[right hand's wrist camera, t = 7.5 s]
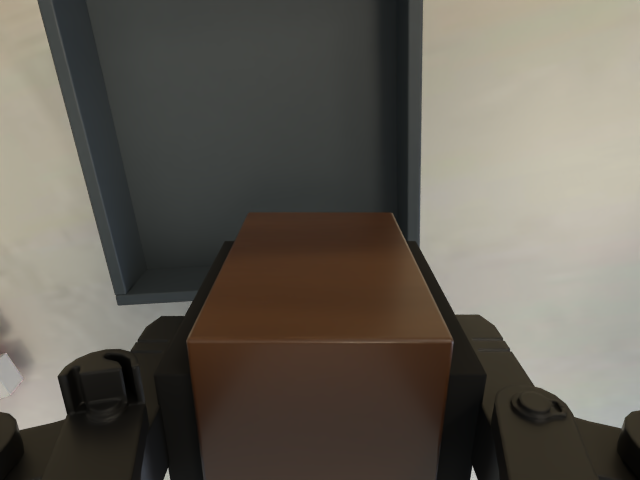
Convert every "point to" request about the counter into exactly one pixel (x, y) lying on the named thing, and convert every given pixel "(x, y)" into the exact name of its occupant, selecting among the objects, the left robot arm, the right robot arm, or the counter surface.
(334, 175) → the tray
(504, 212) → the counter surface
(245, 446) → the walnut block
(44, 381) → the counter surface
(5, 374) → the toy
